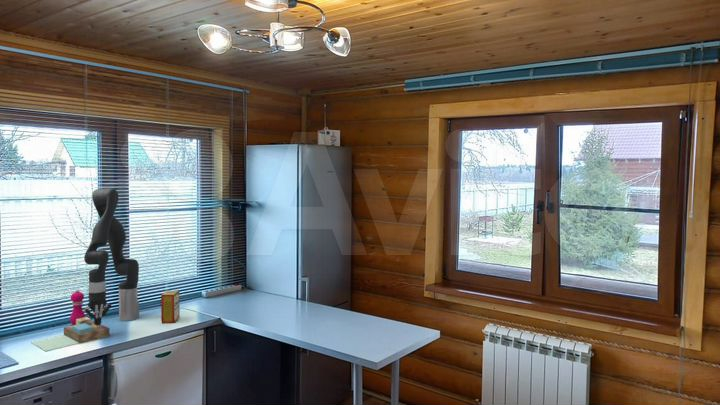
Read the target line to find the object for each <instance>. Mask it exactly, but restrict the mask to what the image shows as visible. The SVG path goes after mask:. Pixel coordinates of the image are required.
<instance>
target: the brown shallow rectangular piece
mask: <svg viewBox="0 0 720 405" xmlns="http://www.w3.org/2000/svg"><path fill="white" fill-rule="evenodd" d="M73 326H74V325H73ZM90 326H92V327H93V331H91V332H86V333H82V334H79V333H77V332H75V331H73V330H72V326H71V325H70V326H69V325H68V326H64V327H63V335H65V336H67V337H69V338H71V339H73V340H75V341H76V342H78V343H79V344H83V343H87V342H91V341H95V340H96V341H97V340H100V339H103V338H108V337H110V330H111V329H110V327H108V326H105V325H103V324H102V323H101V324H100V325H98V326H96V325H95V324H94V320H93V321H92V320H91V325H90Z"/></svg>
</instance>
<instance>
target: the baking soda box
mask: <svg viewBox="0 0 720 405" xmlns="http://www.w3.org/2000/svg"><path fill="white" fill-rule="evenodd" d="M160 297H161V298H160V299H161V300H160V302H161V303H160V304H161V305H160V308H161V314H160V315H161V316H160V319H161V320H160V321H161V325H162V324H163V325H164V324H169V325H170V324H175V323H176V322H177V321H178V320H180V315H181V314H180V290H166V291H165V292H164V293H162V294H161V296H160Z"/></svg>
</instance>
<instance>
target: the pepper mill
mask: <svg viewBox="0 0 720 405" xmlns="http://www.w3.org/2000/svg"><path fill="white" fill-rule="evenodd" d="M84 299H85V295H84V293H83V292H81V291H80V289H79V288H77V289H75V290H74V292H73V293H72V294H71V295H70V301H71V305H72V312H71V315H70V316H69V321H70V323H71V325H70V326H73V325H76V319H79V318H84V317H87V316H86V313H85V311H84V310H83V304H84V301H83V300H84Z"/></svg>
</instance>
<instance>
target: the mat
mask: <svg viewBox="0 0 720 405" xmlns="http://www.w3.org/2000/svg"><path fill="white" fill-rule="evenodd" d="M31 344H33V345H35V346H36V347H38V348H39V349H40V350H42V351H44V352H50V351H53V350H57V349H62V348H66V347H70V346H74V345H79V344H80V343H78V342H76V341H75V340H73V339H71V338H69V337H67V336H65V335H64V334H62V335H57V336H53V337H48V338H43V339H38V340H34V341H31Z"/></svg>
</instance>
